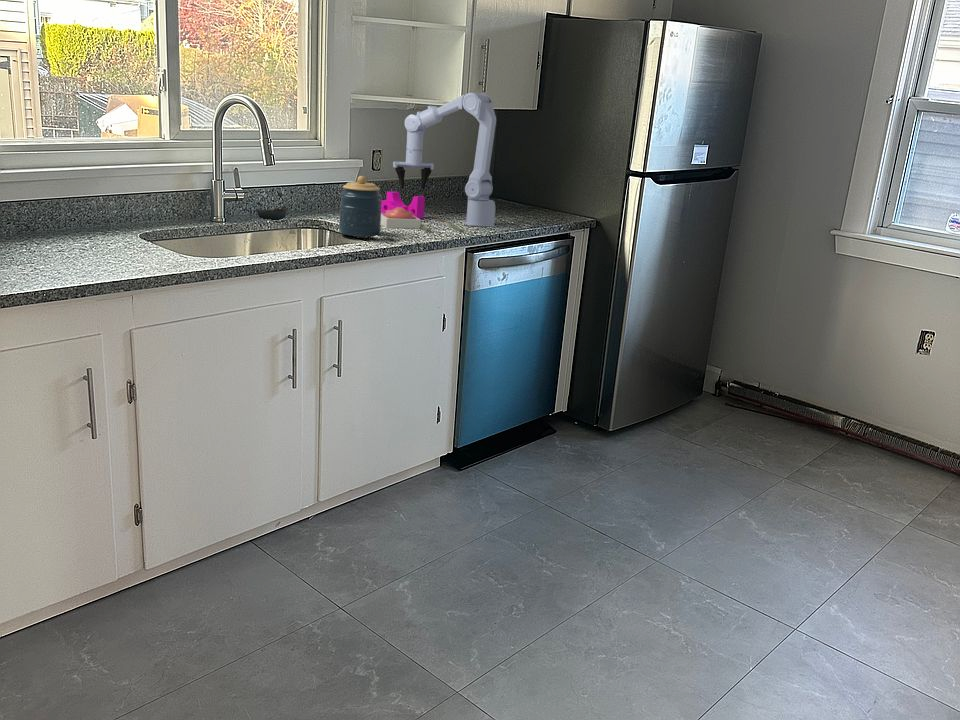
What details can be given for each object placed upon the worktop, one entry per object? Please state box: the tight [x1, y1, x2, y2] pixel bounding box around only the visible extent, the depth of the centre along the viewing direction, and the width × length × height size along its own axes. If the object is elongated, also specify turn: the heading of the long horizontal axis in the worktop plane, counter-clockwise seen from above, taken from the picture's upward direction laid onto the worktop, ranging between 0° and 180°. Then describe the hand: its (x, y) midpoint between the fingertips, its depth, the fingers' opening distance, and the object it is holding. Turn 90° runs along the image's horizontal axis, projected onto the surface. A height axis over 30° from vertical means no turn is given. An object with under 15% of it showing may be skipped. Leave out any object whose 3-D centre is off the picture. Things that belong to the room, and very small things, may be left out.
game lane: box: [420, 215, 465, 233], centre depth 304 cm, size 13×34×1 cm, turn 20°
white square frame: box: [381, 213, 422, 230], centre depth 295 cm, size 12×12×3 cm
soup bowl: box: [257, 205, 288, 220], centre depth 295 cm, size 15×16×7 cm
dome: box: [386, 207, 413, 219], centre depth 294 cm, size 9×9×6 cm
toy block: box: [380, 190, 426, 219], centre depth 312 cm, size 15×6×8 cm, turn 51°
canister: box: [338, 175, 383, 237], centre depth 270 cm, size 13×13×18 cm
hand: (412, 188), depth 316 cm, fingers open, 7 cm apart
